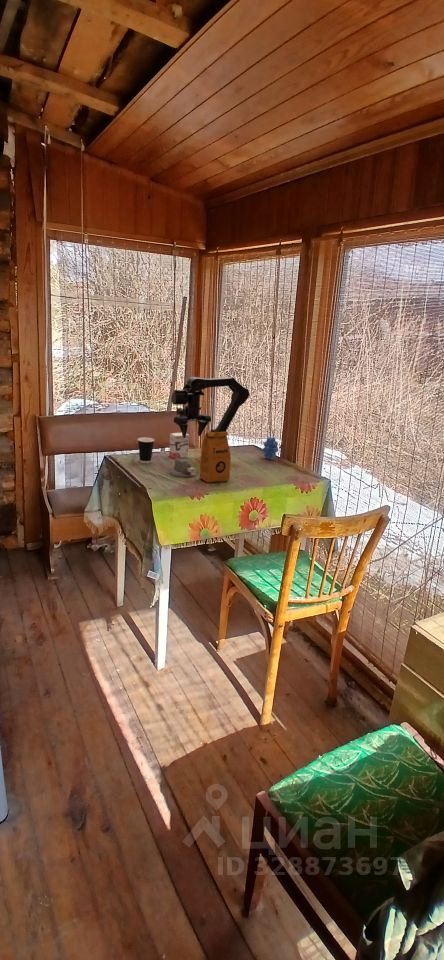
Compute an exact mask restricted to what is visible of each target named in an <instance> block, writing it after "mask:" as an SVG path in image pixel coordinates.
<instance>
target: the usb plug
mask: <svg viewBox="0 0 444 960" xmlns="http://www.w3.org/2000/svg"><path fill="white" fill-rule="evenodd" d="M173 469H174V470H175V471H178V472H180V473H182V474H186V475H190V474H191V472H195V471H196V468H195V467H193V462H192V461H189V460H186V459H185V458H174V468H173Z"/></svg>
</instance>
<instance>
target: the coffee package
mask: <svg viewBox="0 0 444 960" xmlns="http://www.w3.org/2000/svg"><path fill="white" fill-rule="evenodd" d="M228 435H229V432H228V431H226V432H210V431H209V432H206V433H205V434H204V437H203V438H204V439H203V441H202V445H201V449H200V450H201V451H200V452H201V453H200V464H199V466H200V467H199V479H200V480H203V481H204V482H207V483H216V482H217V483H221V482H229V480H230V477H231V460H232V459H231V458H232V457H231V455H232V454H231V450H230V445H229V440H228V439H229V438H228V437H227V436H228Z"/></svg>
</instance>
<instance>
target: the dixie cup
mask: <svg viewBox="0 0 444 960" xmlns="http://www.w3.org/2000/svg"><path fill="white" fill-rule="evenodd" d="M154 441H155V438H152V437H139V438H137V443H138V444H137V445H138V453H139V454H138V455H139V461H140V463H141V464H149V463H151V461H152V457H153V450H154V444H155V443H154Z"/></svg>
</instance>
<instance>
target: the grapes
mask: <svg viewBox="0 0 444 960" xmlns="http://www.w3.org/2000/svg"><path fill="white" fill-rule="evenodd" d="M278 445H279V443H278V441H277V440H276V438H275V437H274V436H272V437H267V438H266V440H265V441H264V442H263V448H262V452H263V453H264V455H263V456H264V457H265V458H267V459H268V460H269V459H270V460H272V459H273V458H275V457H276V456H277V452H279V447H278Z"/></svg>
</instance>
